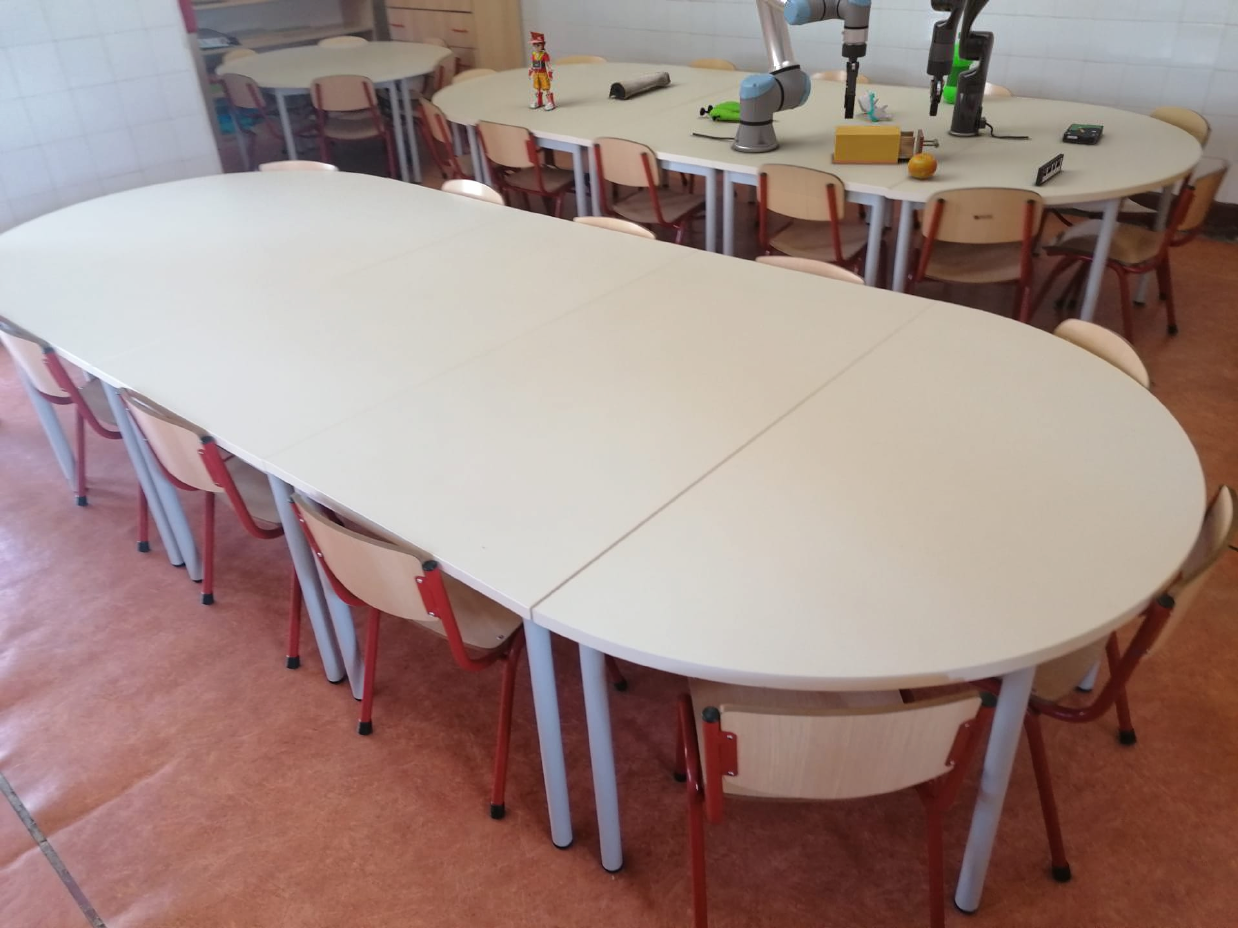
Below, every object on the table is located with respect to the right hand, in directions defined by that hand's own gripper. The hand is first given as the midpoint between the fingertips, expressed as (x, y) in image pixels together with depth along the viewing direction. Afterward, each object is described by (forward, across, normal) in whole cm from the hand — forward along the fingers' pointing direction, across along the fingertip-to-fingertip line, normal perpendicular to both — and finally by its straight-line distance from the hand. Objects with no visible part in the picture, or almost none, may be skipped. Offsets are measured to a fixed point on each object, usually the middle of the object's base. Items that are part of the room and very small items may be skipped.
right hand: (932, 115), depth 289 cm
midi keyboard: (+14, +20, +34) cm, 42 cm away
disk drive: (+14, -25, +53) cm, 60 cm away
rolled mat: (+14, -99, -113) cm, 151 cm away
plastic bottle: (+14, -76, +17) cm, 80 cm away
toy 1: (+14, -73, -151) cm, 169 cm away
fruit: (+14, +20, -3) cm, 24 cm away
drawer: (+13, 0, -9) cm, 16 cm away
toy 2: (+14, -54, -66) cm, 86 cm away
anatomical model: (+14, -54, -16) cm, 58 cm away
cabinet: (+14, 0, -20) cm, 24 cm away
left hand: (-1, 0, -27) cm, 27 cm away
